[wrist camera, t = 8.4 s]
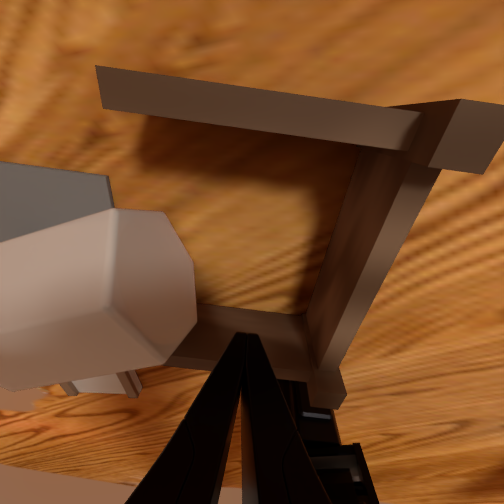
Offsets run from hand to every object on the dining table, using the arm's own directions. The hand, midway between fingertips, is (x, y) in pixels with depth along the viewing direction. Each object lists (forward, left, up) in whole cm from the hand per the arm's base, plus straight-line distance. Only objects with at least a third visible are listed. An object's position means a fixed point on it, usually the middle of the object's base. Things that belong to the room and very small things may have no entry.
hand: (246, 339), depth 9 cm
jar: (-1, +5, -4) cm, 6 cm away
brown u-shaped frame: (0, 0, -8) cm, 8 cm away
